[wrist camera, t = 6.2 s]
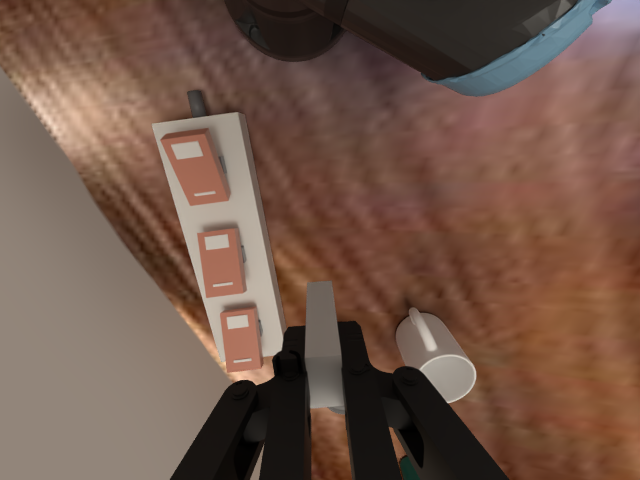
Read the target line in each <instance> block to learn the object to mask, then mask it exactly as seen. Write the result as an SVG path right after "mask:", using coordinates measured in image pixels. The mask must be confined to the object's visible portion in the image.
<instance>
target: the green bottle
mask: <svg viewBox="0 0 640 480" xmlns="http://www.w3.org/2000/svg"><path fill="white" fill-rule="evenodd" d="M400 469H401V473H402V477H403V480H420V478H419V476H418V474H417V472H416V471H415V469H414V467H413V465H412V463H411V461H410V460H409V458H408V456H406V457H404V458H403V459H402V460H401V462H400Z"/></svg>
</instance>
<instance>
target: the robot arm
mask: <svg viewBox="0 0 640 480" xmlns="http://www.w3.org/2000/svg"><path fill="white" fill-rule="evenodd" d="M224 1H225V4H226V6H227V9H228V11H229V13H230V15H231V17H232V19H233V20H234V22H235V24H236V25H237V27H238V28H239V30H240V31H241V33H242V34H243V35H244V36H245V38H246V39H247V40H248V41H249V42H250V43H251V44H252V45H253V46H254V47H256V48H257V49H258V50H260V51H261V52H263V53H264V54H266V55H268V56H270V57H273V58H275V59H278V60H282V61H289V62H299V61H306V60H310V59H313V58H315V57H317V56H320V55H321V54H323V53H325V52H326V51H328V50H329V49H330V48H331V47H333V46H334V45H335V44H336V43H337V42H338V41H339V39H340V38H341V37H342V36H343V34H344V33H345V31H346V30H347V31H349V32H351V33H353V34H354V35H356V36H358V37H360V38H361V39H363V40H365V41H367V42H368V43H370V44H372V45H374V46H375V47H377V48H379V49H381V50H382V51H384V52H386V53H388V54H389V55H391V56H393V57H395V58H396V59H398V60H400V61H402V62H403V63H405V64H407V65H409V66H410V67H412V68H414V69H416V70H417V71H419V72H421V75H422V76H423V77H424V78H425V79H426V80H428V81H429V82H432V83H436V84H442V85H444V86H446V87H448V88H450V89H452V90H454V91H456V92H458V93H460V94H462V95H466V96H475V97H477V96H486V95H490V94H494V93H497V92H500V91H502V90H505V89H507V88H509V87H511V86H513V85H515V84H517V83H519V82H521V81H522V80H524V79H526V78H527V77H529V76H530V75H532V74H534V73H535V72H537V71H538V70H539V69H541V68H542V67H544V66H545V65H546V64H548V63H549V62H550V61H552V60H553V59H554V58H555V57H557V56H558V55H559V54H560V53H561V52H563V51H564V50H565V49H566V48H567V47H568V46H569V45H571V44H572V43H573V42H574V41H575V40H576V39H577V38H578V37H579V36H580V35H581V34H582V33H583V32H584V31H585V30H586V29H587V28H588V27H589V26H590V25H591V24H592V20H593V19H592V15H593V14H594V13H595V12H597V11H598V10H599V9H601V8H602V7H604V6H606V5H607V4H609V3H610V2H611V1H612V0H224ZM272 363H273V369H274V375H275V376H274V377H273V378H272V379H270V380H269V381H267V382H265V383H262V384H259V385H255V384H254V383H253V382H252V381H249V380H240V381H237V382H235V383H233V384H232V385H230V386H229V387H228V388H227V389H226V390H225V392H224V393H223V395H222V397H221V398H220V400H219V401H218V403H217V405H216V406H215V408H214V409H213V411H212V413H211V414H210V416H209V417H208V419H207V421H206V422H205V424H204V425H203V427H202V429H201V430H200V432H199V433H198V435H197V437H196V438H195V440H194V441H193V443H192V445H191V446H190V448H189V449H188V451H187V453H186V454H185V456H184V458H183V459H182V461H181V463H180V464H179V466H178V467H177V469H176V470H175V472H174V474H173V475H172V477H171V478H170V480H250V478H251V475H252V473H253V470H254V467H255V465H256V463H257V460H258V458H259V455H260V452H261V450H262V447H263V445H264V450H263V456H262V463H261V470H260V476H259V480H311V413H310V407H311V408H321V407H334V406H344V407H345V422H346V430H347V437H348V446H349V455H350V464H351V473H352V480H402V477H401V474H400V470H399V466H398V462H397V458H396V454H395V450H394V446H393V443H392V439H391V435H390V431H389V427H392V428H393V429H394V432H395V434H396V436H397V437H398V439H399V441H400V443H401V445H402V447H403V448H404V450H405V452H406V454H407V456H408V458H409V460H410V461H411V463H412V465H413V467H414V469H415V471H416V472H417V474H418V476H419V478H420V480H509V478H508V477H507V476H506V475H505V474H504V472H503V471H502V470H501V469H500V467H499V466H498V465H497V464H496V462H495V461H494V460H493V459H492V457H491V456H490V455H489V454H488V452H487V451H486V450H485V449H484V448H483V446H482V445H481V444H480V443H479V441H478V440H477V439H476V438H475V436H474V435H473V434H472V433H471V431H470V430H469V429H468V428H467V426H466V425H465V424H464V423H463V422H462V420H461V419H460V418H459V417H458V415H457V414H456V413H455V412H454V410H453V409H452V408H451V407H450V405H449V404H448V403H447V402H446V400H445V399H444V398H443V397H442V395H441V394H440V393H439V392H438V391H437V389H436V388H435V387H434V386H433V384H432V383H431V382H430V381H429V379H428V378H427V377H426V376H425V374H424V373H422V372H421V371H420V370H419V369H416V368H414V367H410V366H403V367H400V368H397V369H396V370H395V371H394V372H393V374H392V373H386V372H382V371H380V370H378V369H376V368H374V367H373V366H372V365H371V363H370V361H369V358H368V354H367V350H366V346H365V342H364V338H363V335H362V330H361V326H360V325H359V324H358V323H357V322H356V321H348V322H337V318H336V310H335V303H334V295H333V288H332V281H322V282H310V283H307V306H306V326H294V327H288V329H287V330H286V331H285V333H284V336H283V343H282V350H281V351H279V352H278V353H277V354H276V355H275V356H274V357H273V359H272ZM264 442H265V443H264Z"/></svg>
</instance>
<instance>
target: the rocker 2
mask: <svg viewBox="0 0 640 480" xmlns="http://www.w3.org/2000/svg"><path fill="white" fill-rule="evenodd" d="M197 237H198V244H199V251H200V258H201V265H202V272H203V279H204V286H205V293H206V298H210V297H218V296H226V295H234V294H242V293H244V292H246V291H247V286H246V279H245V272H244V264H243V257H242V250H241V243H240V235H239V228H233V229H225V230H217V231H210V232H202V233H197Z"/></svg>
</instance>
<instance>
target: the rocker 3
mask: <svg viewBox="0 0 640 480" xmlns="http://www.w3.org/2000/svg"><path fill="white" fill-rule="evenodd" d="M220 319H221V327H222V335H223V344H224V352H225V360H226V368H227V373H229V372H237V371H245V370H253V369H261V368H262V366H263V364H264V361H263V353H262V345H261V337H260V330H259V322H258V314H257V306H256V307H248V308H240V309H232V310H224V311H223V312H221V313H220Z"/></svg>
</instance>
